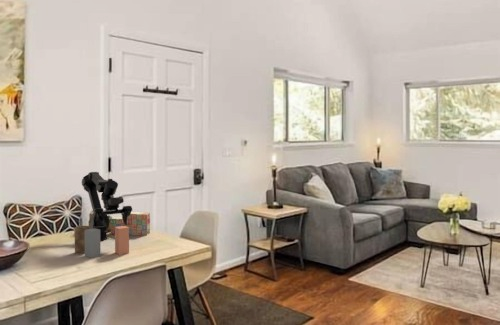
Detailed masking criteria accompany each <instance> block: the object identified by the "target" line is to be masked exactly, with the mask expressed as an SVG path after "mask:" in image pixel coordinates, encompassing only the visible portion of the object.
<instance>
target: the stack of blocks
mask: <svg viewBox="0 0 500 325" xmlns="http://www.w3.org/2000/svg"><path fill="white" fill-rule="evenodd" d="M119 226H127V227H129V236H148V235H149V234H150V233H151V212H144V211H143V212H142V211H140V212H139V211H137V212H135V211H134V212H133V211H131V214H130V215H129V216H128V217H127V225H125V224H124V221H123V219H122V216H114V217H112V218H111V232H110V235H114V236H115V227H119ZM147 234H148V235H147Z"/></svg>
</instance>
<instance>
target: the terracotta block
mask: <svg viewBox="0 0 500 325" xmlns="http://www.w3.org/2000/svg"><path fill="white" fill-rule="evenodd" d="M114 253H115V254H117V255H118V254H119V255H120V254H121V255H126V254H130V235H129V227H127V226H119V227H115V235H114ZM119 255H118V256H119ZM121 255H120V256H121Z"/></svg>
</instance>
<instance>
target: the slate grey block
mask: <svg viewBox="0 0 500 325" xmlns="http://www.w3.org/2000/svg"><path fill="white" fill-rule="evenodd" d="M101 250H102V249H101V241H100V229H95V228H92V229H87V230H85V254H84V257H85V256H86V258H89V257H90V258H89V259H94V258H98V257H101V256H102V255H101V253H102V252H101ZM93 257H94V258H93Z"/></svg>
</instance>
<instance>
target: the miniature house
mask: <svg viewBox="0 0 500 325" xmlns="http://www.w3.org/2000/svg"><path fill="white" fill-rule="evenodd" d="M103 211H104V209H103ZM88 215H89V219H88V226H90V223H91V220H92V217H93V210H91V211H90V212H89V214H88ZM107 216H108V218H109V227H108V228H106V231H107V234H108V233H111V218H113V217H112V215H107ZM94 227H95V226H94Z"/></svg>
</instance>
